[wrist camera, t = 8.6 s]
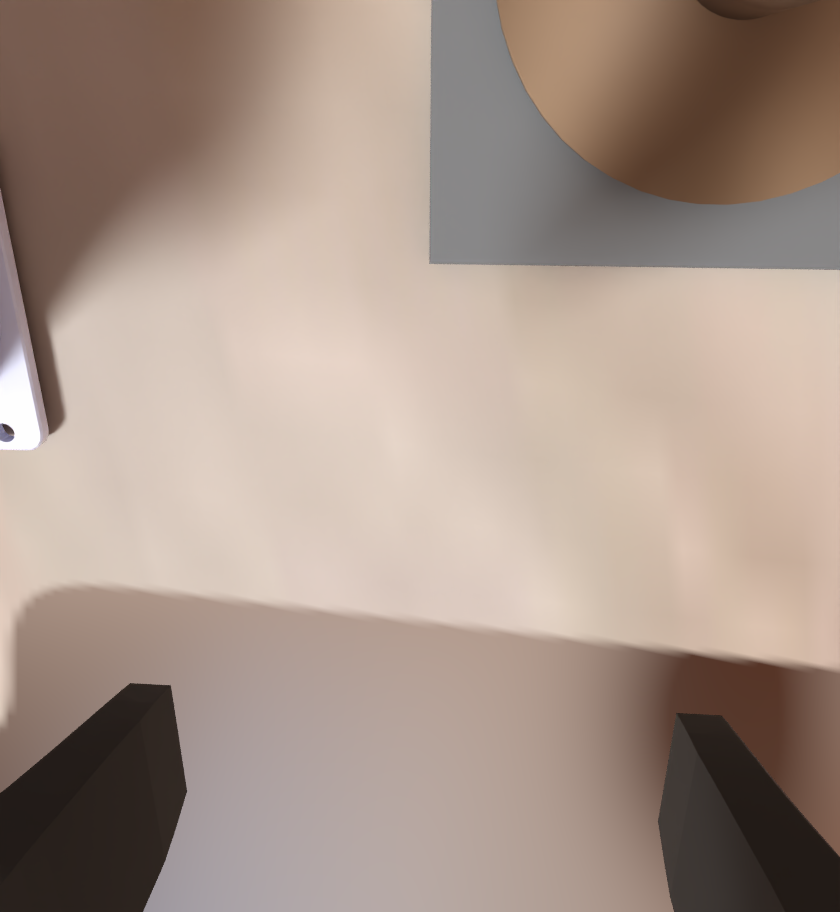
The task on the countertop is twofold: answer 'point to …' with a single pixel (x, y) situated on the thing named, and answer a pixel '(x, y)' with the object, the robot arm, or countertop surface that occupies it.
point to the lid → (687, 90)
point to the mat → (576, 182)
